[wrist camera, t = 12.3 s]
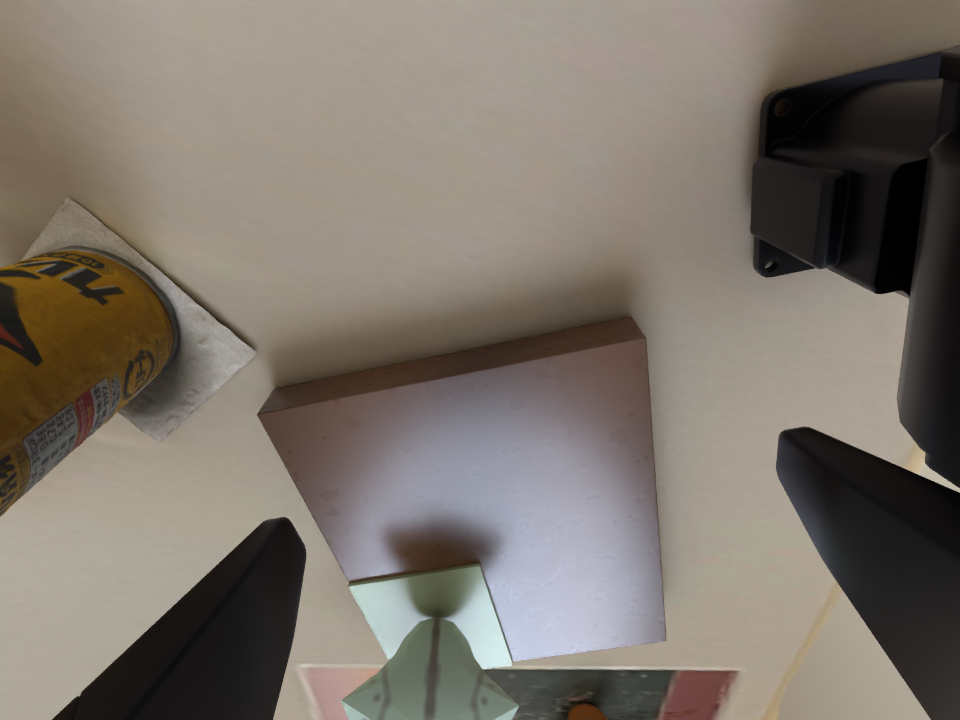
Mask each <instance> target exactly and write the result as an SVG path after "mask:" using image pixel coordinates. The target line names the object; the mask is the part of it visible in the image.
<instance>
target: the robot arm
mask: <svg viewBox="0 0 960 720" xmlns="http://www.w3.org/2000/svg"><path fill="white" fill-rule="evenodd" d="M781 99H782V100H783V101H784V107H783V110H782V111H781V112H780V113H779V114H776V113H775V106H776V104H777V102H778V101H779V100H781ZM750 231H751V233H752V234H753V235H755V242H754V263H753V265H754V269H755V271H756V272H757V273H759V274H760V275H762V276H764V277H775V276H780V275H784V274H789V273H794V272H799V271H804V270H809V269H814V268H817V269H824V268H827V269H829V270H831V271H832V272H834V273H836V274H838V275H840V276H842V277H844V278H846V279H848V280H850V281H852V282H854V283H856V284H858V285H860V286H862V287H864V288H866V289H868V290H870V291H872V292H874V293H876V294H884V293H889V292H896V293H899V294H901V295H903V296H905V297H907V298H909V299H910V300H909V308H908V316H907V323H906V331H905V339H904V347H903V354H902V362H901V370H900V378H899V386H898V393H897V404H898V411H899V418H900V422H901V424H902V425H903V426H904V428H905V429H906V430H907V432H908V433H909V434H910V435H911V437H912V438H913V439H914V441H915V442H916V443H917V445H918V446H919V447H920V448H921V449H922V450H923V451H924V452H925V453H926V454H925V463H926V464H927V466H928V467H929V468H931V469H932V470H933V471H935V472H937V473H938V474H939V475H941V476H942V477H944V478H945V479H947V480H948V481H950V482H951V483H953V484H954V485H956V486H957V487H959V488H960V45H958V46H954V47H951V48H948V49H944V50H940V51H936V52H932V53H927V54H923V55H919V56H915V57H911V58H907V59H903V60H899V61H895V62H890V63H886V64H882V65H878V66H874V67H870V68H866V69H862V70H857V71H853V72H849V73H845V74H841V75H837V76H833V77H829V78H825V79H820V80H816V81H812V82H808V83H804V84H800V85H796V86H792V87H788V88H783V89H779V90H776V91H774V92H772V93H770V94H769V95H768V96H767V97H766V98H765V100H764V102H763V103H762V108H761V118H760V139H759V158H758V159H757V161H756V162H755V164H754V165H753V179H752V202H751V225H750ZM770 259H773V260H774V261H773V264H772V265H771V266H770V267H768V268H765V265H766V263H767V262H768V261H769V260H770ZM776 470H777V475H778V477H779V480H780V482H781V484H782V486H783V487H784V489H785V491H786V493H787V495H788V497H789V499H790V501H791V502H792V504H793V506H794V508H795V510H796V512H797V514H798V515H799V517H800V519H801V521H802V523H803V525H804V527H805V528H806V530H807V532H808V534H809V536H810V538H811V540H812V541H813V543H814V545H815V547H816V549H817V551H818V552H819V554H820V556H821V558H822V559H823V561H824V563H825V564H826V566H827V567H828V569H829V570H830V572H831V573H832V575H833V576H834V578H835V579H836V581H837V582H838V584H839V585H840V587H841V588H842V590H843V591H844V593H845V594H846V595H847V597H848V598H849V600H850V601H851V603H852V604H853V606H854V607H855V609H856V610H857V612H858V613H859V614H860V616H861V618H862V619H863V620H864V622H865V623H866V625H867V626H868V628H869V629H870V630H871V632H872V634H873V635H874V637H875V638H876V640H877V641H878V642H879V644H880V645H881V647H882V648H883V650H884V651H885V653H886V654H887V655H888V657H889V659H890V660H891V661H892V663H893V664H894V666H895V667H896V669H897V670H898V672H899V673H900V675H901V676H902V678H903V679H904V681H905V682H906V683H907V685H908V686H909V688H910V689H911V691H912V692H913V694H914V695H915V697H916V698H917V700H918V701H919V703H920V704H921V706H922V707H923V708H924V710H925V711H926V713H927V714H928V716H929V717H930V719H931V720H960V493H959V492H956V491H954V490H952V489H949V488H947V487H945V486H943V485H940V484H938V483H936V482H934V481H931V480H929V479H927V478H924V477H922V476H920V475H918V474H915V473H913V472H911V471H908V470H906V469H904V468H902V467H899V466H897V465H895V464H892V463H890V462H888V461H886V460H883V459H881V458H879V457H876V456H874V455H872V454H870V453H867V452H865V451H863V450H860V449H858V448H856V447H854V446H851V445H849V444H847V443H844V442H842V441H840V440H838V439H835V438H833V437H831V436H828V435H826V434H824V433H822V432H819V431H817V430H815V429H812V428H809V427H799V428H793V429H788V430H784V431H782V432H781V433H780V435H779V440H778V451H777V462H776ZM305 562H306V549H305V545H304V543H303V542H302V540H301V538H300V536H299V535H298V533H297V531H296V529H295V528H294V526H293V524H292V523H291V521H290V520H289V519H288V518H286V517H281V518H275V519H269V520H266V521H264V522H263V523H261V524H260V525H259V526H258V527H257V528H256V529H255V530H254V531H253V532H252V533H251V534H250V535H249V536H247V537H246V538H245V539H244V540H243V541H242V542H241V543H240V544H239V545H238V546H237V547H236V548H235V549H234V550H233V551H231V552H230V553H229V554H228V555H227V556H226V557H225V558H224V559H223V560H222V561H221V562H220V563H219V564H218V565H217V566H215V567H214V568H213V569H212V570H211V571H210V572H209V573H208V574H207V575H206V576H205V577H204V578H203V579H202V580H201V581H199V582H198V583H197V584H196V585H195V586H194V587H193V588H192V589H191V590H190V591H189V592H188V593H187V594H186V595H185V596H183V597H182V598H181V599H180V600H179V601H178V602H177V603H176V604H175V605H174V606H173V607H172V608H171V609H170V610H169V611H167V612H166V613H165V614H164V615H163V616H162V617H161V618H160V619H159V620H158V621H157V622H156V623H155V624H154V625H152V626H151V627H150V628H149V629H148V630H147V631H146V632H145V633H144V634H143V635H142V636H141V637H140V638H139V639H138V640H136V641H135V642H134V643H133V644H132V645H131V646H130V647H129V648H128V649H127V650H126V651H125V652H124V653H123V654H122V655H120V656H119V657H118V658H117V659H116V660H115V661H114V662H113V663H112V664H111V665H110V666H109V667H108V668H107V669H106V670H104V671H103V672H102V673H101V674H100V675H99V676H98V677H97V678H96V679H95V680H94V681H93V682H92V683H91V684H90V685H88V686H87V687H86V688H85V689H84V690H83V691H82V693H81V695H80V696H78V697H76V698H74V699H73V700H72V701H71V702H70V703H69V704H68V705H67V706H66V707H65V708H64V709H63V710H62V711H61V712H60V713H59V714H57V715H56V716H55V717H54V718H53V719H52V720H273V717H274V713H275V709H276V705H277V701H278V698H279V694H280V690H281V686H282V682H283V678H284V674H285V670H286V666H287V663H288V659H289V655H290V651H291V646H292V642H293V638H294V632H295V627H296V621H297V614H298V608H299V601H300V595H301V588H302V582H303V575H304V569H305Z"/></svg>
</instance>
